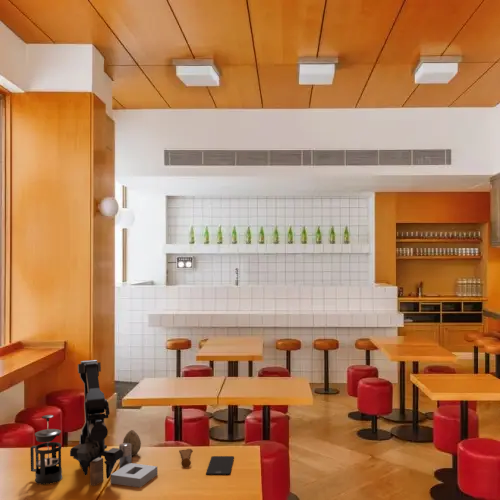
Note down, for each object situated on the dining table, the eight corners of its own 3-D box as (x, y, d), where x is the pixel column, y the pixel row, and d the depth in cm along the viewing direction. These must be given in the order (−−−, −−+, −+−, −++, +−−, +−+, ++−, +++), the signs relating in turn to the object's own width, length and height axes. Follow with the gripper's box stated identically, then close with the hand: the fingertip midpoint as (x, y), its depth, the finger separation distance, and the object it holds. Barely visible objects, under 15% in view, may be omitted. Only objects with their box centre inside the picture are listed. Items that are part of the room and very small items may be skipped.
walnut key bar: (90, 485, 203) (89, 462, 203) (98, 479, 208) (98, 457, 208) (95, 485, 203) (94, 462, 203) (103, 480, 207) (103, 457, 207)
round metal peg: (117, 467, 220) (116, 446, 220) (123, 463, 224) (123, 442, 224) (127, 468, 218) (127, 447, 218) (133, 464, 222) (133, 443, 222)
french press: (68, 474, 213) (67, 412, 213) (56, 485, 204) (55, 419, 204) (38, 473, 214) (37, 411, 214) (25, 484, 205) (24, 419, 205)
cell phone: (205, 476, 211) (205, 473, 211) (211, 458, 228) (211, 456, 229) (230, 476, 210) (230, 473, 210) (234, 458, 228) (234, 456, 228)
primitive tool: (178, 451, 237) (178, 442, 237) (192, 450, 238) (192, 441, 238) (181, 468, 218) (181, 459, 218) (195, 467, 219) (195, 458, 219)
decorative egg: (144, 454, 233) (144, 429, 233) (130, 459, 228) (130, 434, 228) (133, 450, 238) (132, 426, 238) (119, 455, 232) (118, 430, 232)
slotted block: (110, 483, 204) (110, 474, 204) (129, 470, 216) (128, 462, 216) (140, 487, 200) (140, 478, 200) (157, 474, 212) (157, 466, 212)
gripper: (59, 437, 201) (60, 482, 201) (105, 442, 195) (106, 489, 195) (79, 427, 211) (80, 470, 211) (123, 432, 205) (124, 476, 205)
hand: (96, 476), depth 205 cm, fingers open, 9 cm apart
